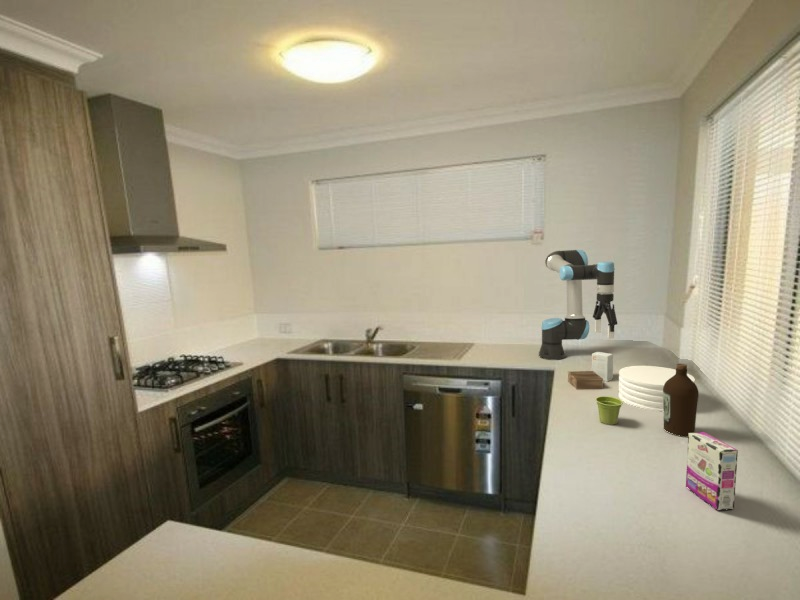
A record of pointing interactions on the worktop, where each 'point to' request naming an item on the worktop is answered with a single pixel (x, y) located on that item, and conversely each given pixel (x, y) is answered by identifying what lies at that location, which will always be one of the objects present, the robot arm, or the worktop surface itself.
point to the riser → (585, 380)
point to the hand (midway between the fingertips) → (604, 335)
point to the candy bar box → (711, 470)
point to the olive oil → (680, 403)
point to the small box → (603, 365)
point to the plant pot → (608, 409)
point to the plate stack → (644, 385)
